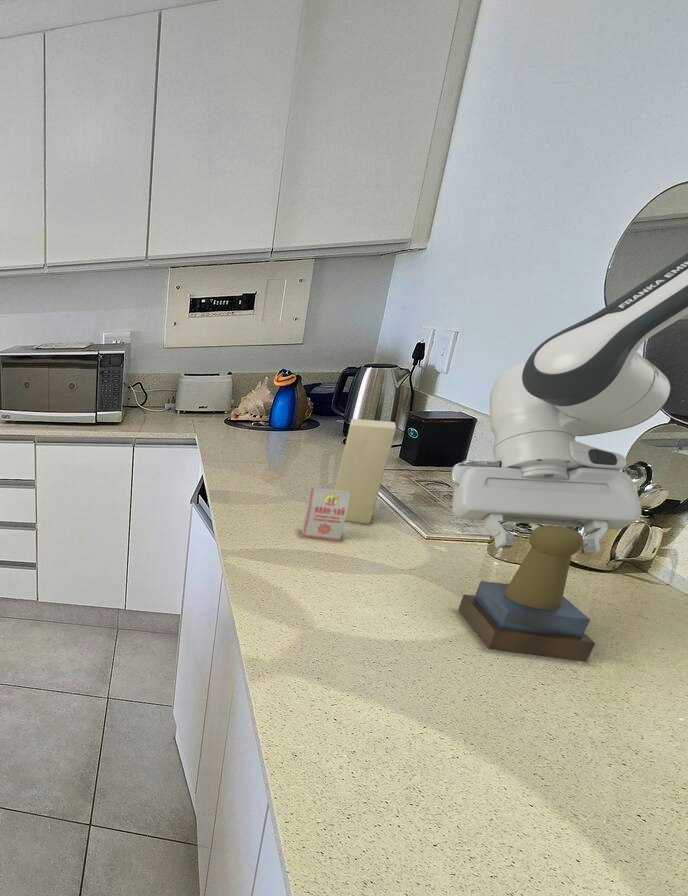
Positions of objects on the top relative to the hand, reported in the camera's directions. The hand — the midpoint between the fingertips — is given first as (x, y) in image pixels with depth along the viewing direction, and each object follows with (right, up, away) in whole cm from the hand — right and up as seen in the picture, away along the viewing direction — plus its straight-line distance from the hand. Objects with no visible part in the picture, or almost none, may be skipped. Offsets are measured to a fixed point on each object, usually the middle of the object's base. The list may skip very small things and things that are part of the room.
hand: (546, 550), depth 81 cm
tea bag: (-8, +2, +39) cm, 40 cm away
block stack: (0, -13, +4) cm, 13 cm away
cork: (0, -7, +2) cm, 8 cm away
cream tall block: (+4, +7, +48) cm, 48 cm away
